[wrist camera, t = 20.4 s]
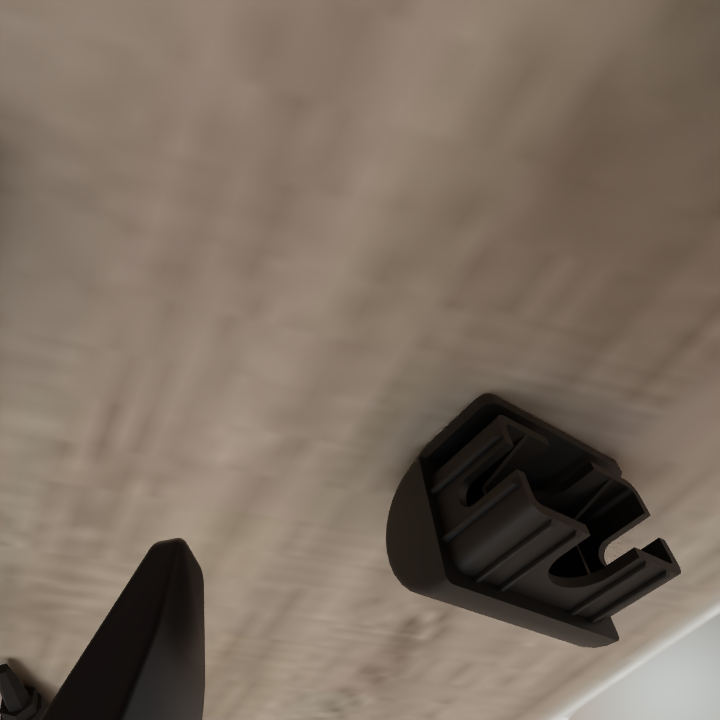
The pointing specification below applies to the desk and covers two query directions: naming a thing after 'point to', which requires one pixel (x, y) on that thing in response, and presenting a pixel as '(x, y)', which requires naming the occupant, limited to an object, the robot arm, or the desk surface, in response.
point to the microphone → (19, 698)
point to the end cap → (522, 527)
